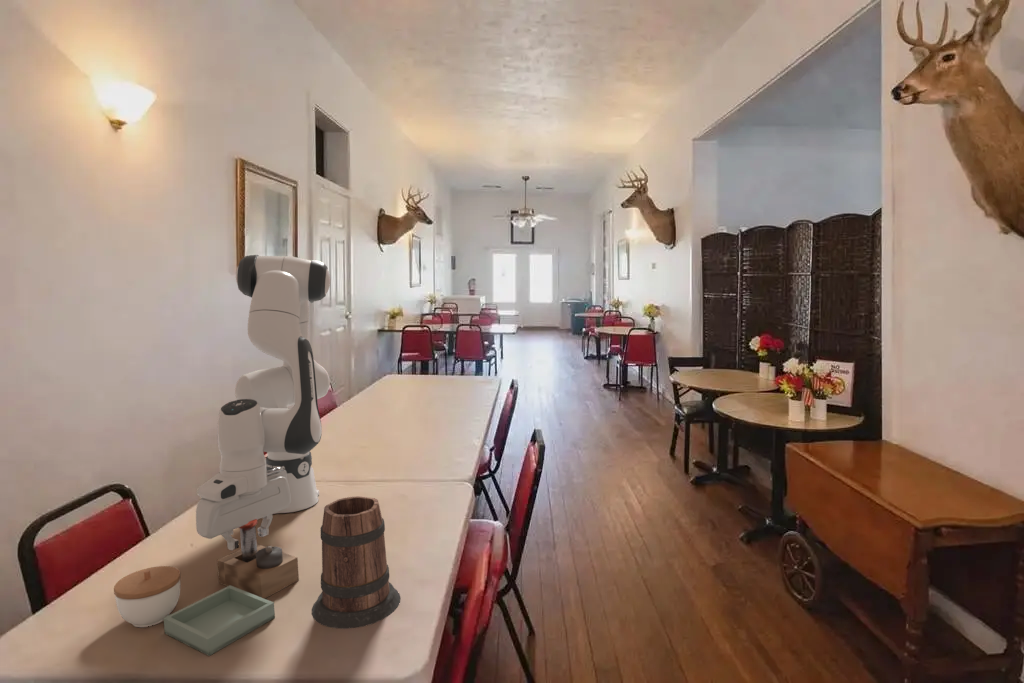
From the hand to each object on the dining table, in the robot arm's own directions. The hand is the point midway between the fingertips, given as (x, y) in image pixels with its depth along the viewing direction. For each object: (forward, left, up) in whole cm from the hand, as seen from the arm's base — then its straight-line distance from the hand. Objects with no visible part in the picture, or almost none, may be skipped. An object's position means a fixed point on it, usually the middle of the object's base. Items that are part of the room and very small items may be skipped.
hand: (248, 542), depth 129 cm
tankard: (+24, +6, -8) cm, 26 cm away
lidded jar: (-3, -19, -8) cm, 21 cm away
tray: (+11, -14, -8) cm, 19 cm away
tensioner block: (+3, 0, -8) cm, 8 cm away
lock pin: (0, 0, -8) cm, 8 cm away
